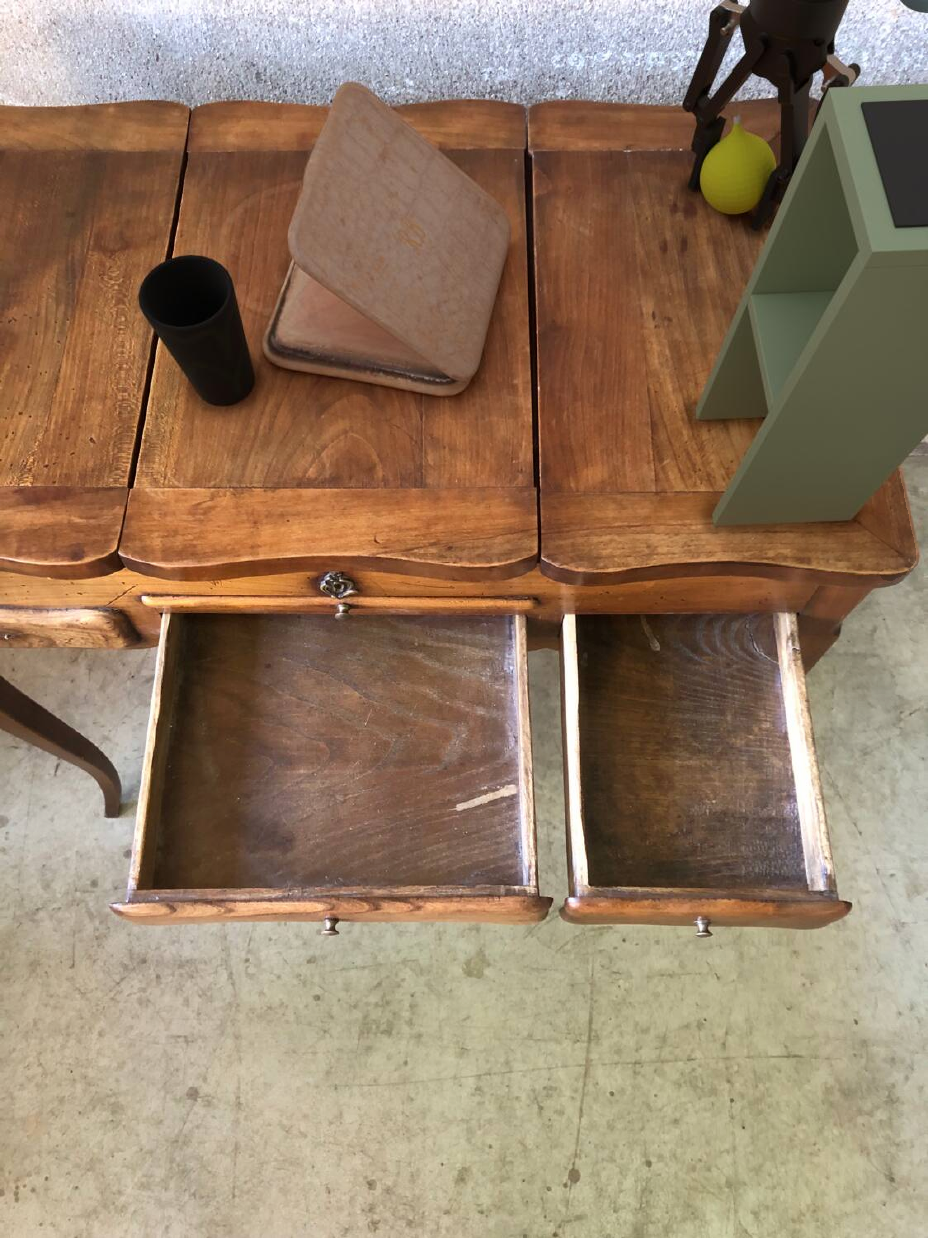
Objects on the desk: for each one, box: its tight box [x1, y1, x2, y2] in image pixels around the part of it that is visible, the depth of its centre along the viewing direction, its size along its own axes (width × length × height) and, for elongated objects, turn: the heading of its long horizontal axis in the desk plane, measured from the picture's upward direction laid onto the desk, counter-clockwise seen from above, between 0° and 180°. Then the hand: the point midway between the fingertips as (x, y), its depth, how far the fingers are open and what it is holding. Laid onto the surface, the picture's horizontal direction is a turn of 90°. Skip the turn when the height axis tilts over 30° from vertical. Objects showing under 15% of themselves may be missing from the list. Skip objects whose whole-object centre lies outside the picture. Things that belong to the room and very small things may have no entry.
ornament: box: [700, 106, 777, 215], centre depth 83 cm, size 7×7×10 cm
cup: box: [137, 254, 256, 407], centre depth 75 cm, size 8×8×12 cm
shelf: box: [694, 83, 928, 527], centre depth 62 cm, size 12×12×32 cm
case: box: [261, 81, 512, 397], centre depth 77 cm, size 20×21×16 cm
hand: (729, 200), depth 88 cm, fingers closed on ornament, 7 cm apart
